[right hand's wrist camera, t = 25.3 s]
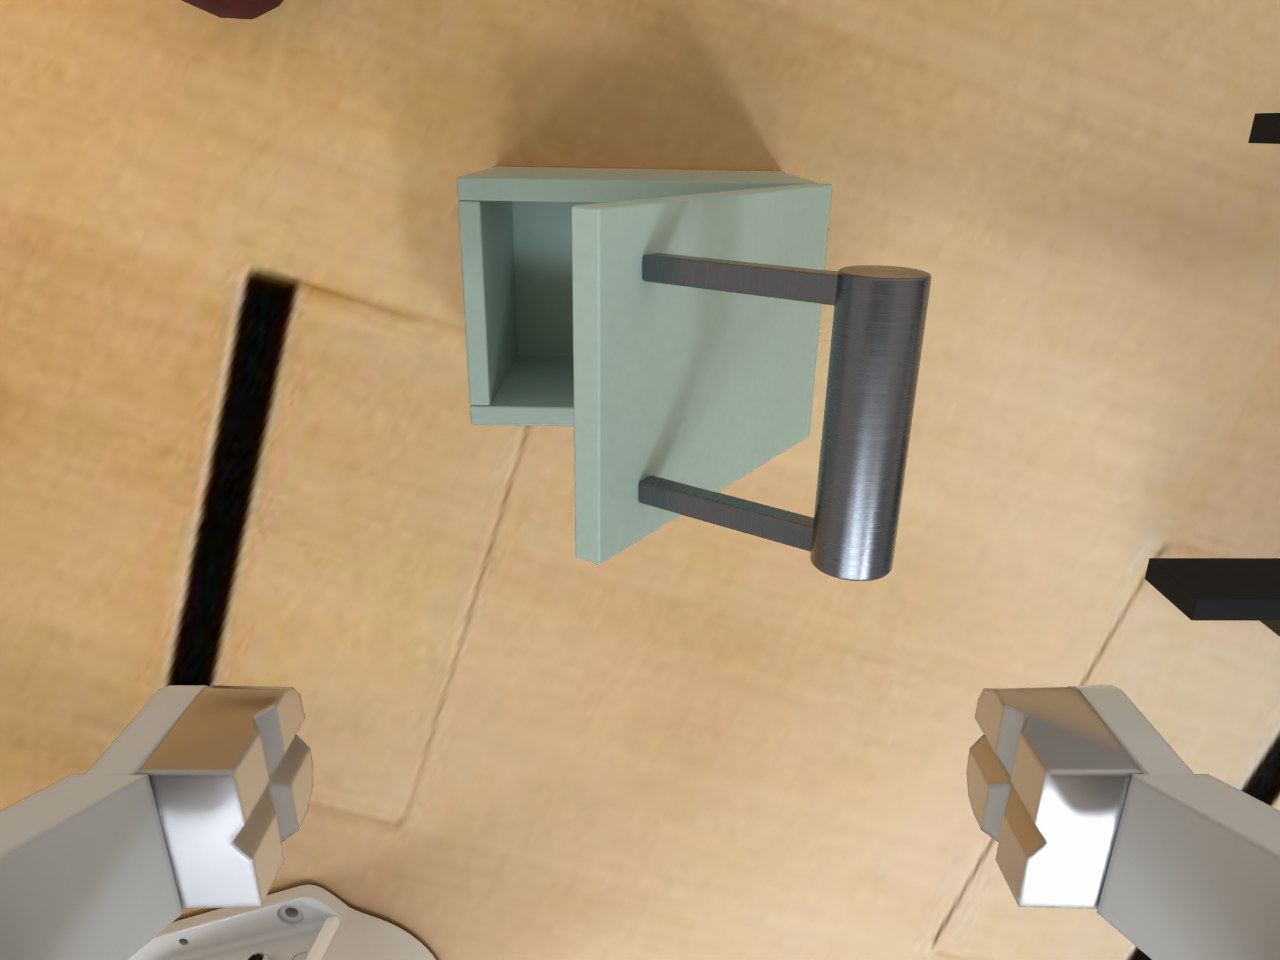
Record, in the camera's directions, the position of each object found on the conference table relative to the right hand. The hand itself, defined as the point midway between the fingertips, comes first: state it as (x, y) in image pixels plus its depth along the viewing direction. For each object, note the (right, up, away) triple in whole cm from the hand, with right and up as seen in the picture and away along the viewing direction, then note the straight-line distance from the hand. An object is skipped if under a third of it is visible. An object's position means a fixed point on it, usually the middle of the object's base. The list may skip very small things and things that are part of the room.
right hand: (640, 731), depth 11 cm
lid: (+2, +7, +18) cm, 20 cm away
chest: (0, +13, +33) cm, 35 cm away
